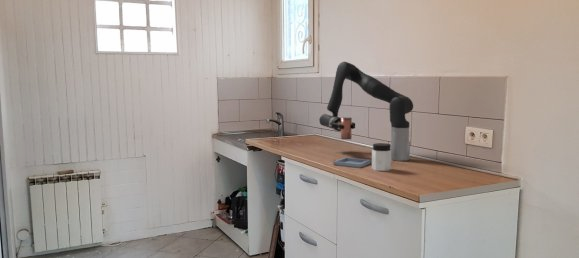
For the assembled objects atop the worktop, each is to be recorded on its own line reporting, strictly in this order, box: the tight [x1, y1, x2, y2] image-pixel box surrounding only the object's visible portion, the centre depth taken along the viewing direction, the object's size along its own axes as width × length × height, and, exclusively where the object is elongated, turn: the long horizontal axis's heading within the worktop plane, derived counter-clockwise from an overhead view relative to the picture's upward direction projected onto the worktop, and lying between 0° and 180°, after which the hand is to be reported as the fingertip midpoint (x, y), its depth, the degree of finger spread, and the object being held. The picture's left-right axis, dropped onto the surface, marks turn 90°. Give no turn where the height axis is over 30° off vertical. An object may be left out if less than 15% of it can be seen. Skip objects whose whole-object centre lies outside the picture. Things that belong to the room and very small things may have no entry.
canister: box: [340, 116, 353, 140], centre depth 232 cm, size 6×6×11 cm
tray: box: [333, 157, 372, 169], centre depth 221 cm, size 14×14×2 cm
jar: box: [371, 142, 392, 172], centre depth 208 cm, size 9×8×12 cm
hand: (347, 126), depth 229 cm, fingers closed on canister, 5 cm apart
